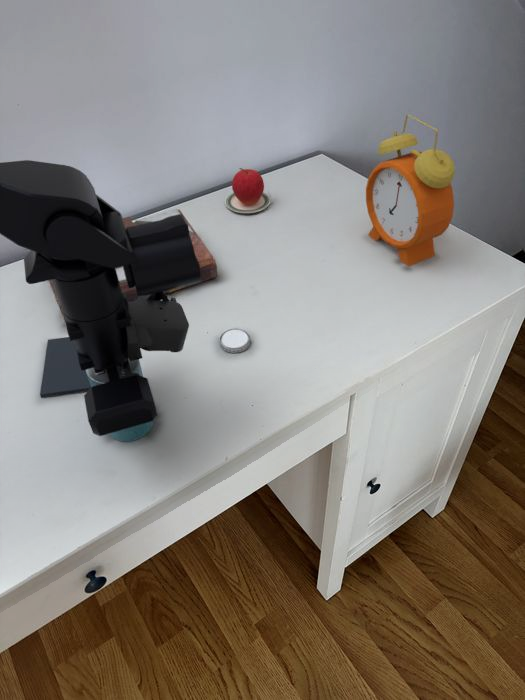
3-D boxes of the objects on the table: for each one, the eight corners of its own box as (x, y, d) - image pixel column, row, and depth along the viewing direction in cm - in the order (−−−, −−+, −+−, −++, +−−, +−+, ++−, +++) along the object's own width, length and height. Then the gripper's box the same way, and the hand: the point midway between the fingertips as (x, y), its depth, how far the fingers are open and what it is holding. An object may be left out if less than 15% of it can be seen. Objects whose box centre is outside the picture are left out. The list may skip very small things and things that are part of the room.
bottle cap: (251, 351, 75) (250, 347, 74) (220, 353, 74) (220, 350, 74) (248, 330, 77) (248, 327, 77) (219, 333, 77) (219, 329, 77)
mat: (41, 397, 70) (39, 394, 70) (48, 342, 77) (47, 339, 77) (122, 386, 71) (121, 383, 71) (122, 332, 78) (122, 329, 78)
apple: (221, 195, 103) (218, 162, 99) (264, 189, 105) (263, 156, 100) (230, 218, 98) (227, 184, 93) (275, 211, 99) (274, 177, 94)
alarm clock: (359, 231, 94) (372, 110, 80) (388, 220, 96) (406, 101, 82) (412, 273, 86) (437, 146, 71) (442, 260, 88) (473, 134, 73)
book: (69, 333, 79) (60, 307, 76) (43, 267, 88) (33, 242, 84) (218, 282, 86) (216, 257, 83) (180, 226, 95) (177, 201, 92)
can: (105, 445, 65) (83, 387, 58) (107, 407, 69) (86, 349, 61) (155, 437, 65) (139, 379, 58) (153, 401, 69) (138, 342, 62)
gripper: (200, 344, 49) (215, 448, 60) (155, 233, 62) (175, 336, 73) (70, 378, 47) (111, 480, 58) (51, 255, 59) (87, 358, 70)
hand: (125, 406), depth 65 cm, fingers closed on can, 5 cm apart
